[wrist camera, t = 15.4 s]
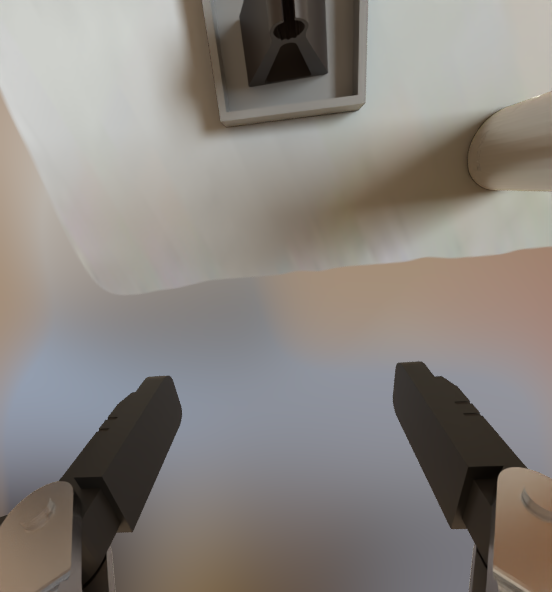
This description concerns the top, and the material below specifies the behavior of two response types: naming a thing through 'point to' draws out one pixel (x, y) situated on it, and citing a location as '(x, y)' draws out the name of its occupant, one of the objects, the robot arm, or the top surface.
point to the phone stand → (283, 40)
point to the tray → (289, 94)
